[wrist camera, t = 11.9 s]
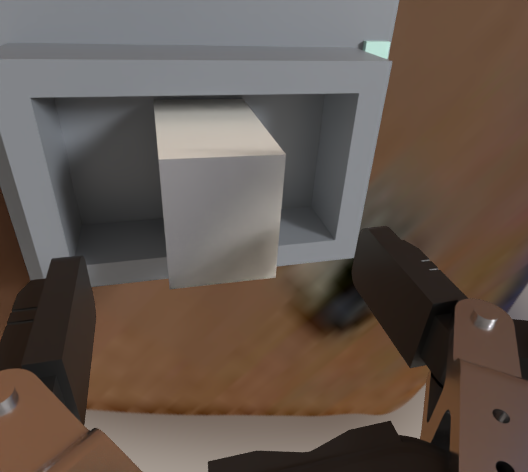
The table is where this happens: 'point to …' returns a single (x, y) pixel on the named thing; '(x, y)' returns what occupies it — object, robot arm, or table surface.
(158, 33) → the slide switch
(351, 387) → the table surface
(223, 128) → the block
